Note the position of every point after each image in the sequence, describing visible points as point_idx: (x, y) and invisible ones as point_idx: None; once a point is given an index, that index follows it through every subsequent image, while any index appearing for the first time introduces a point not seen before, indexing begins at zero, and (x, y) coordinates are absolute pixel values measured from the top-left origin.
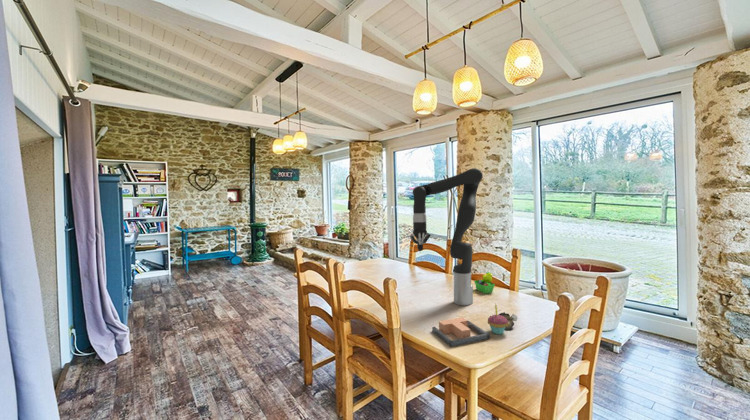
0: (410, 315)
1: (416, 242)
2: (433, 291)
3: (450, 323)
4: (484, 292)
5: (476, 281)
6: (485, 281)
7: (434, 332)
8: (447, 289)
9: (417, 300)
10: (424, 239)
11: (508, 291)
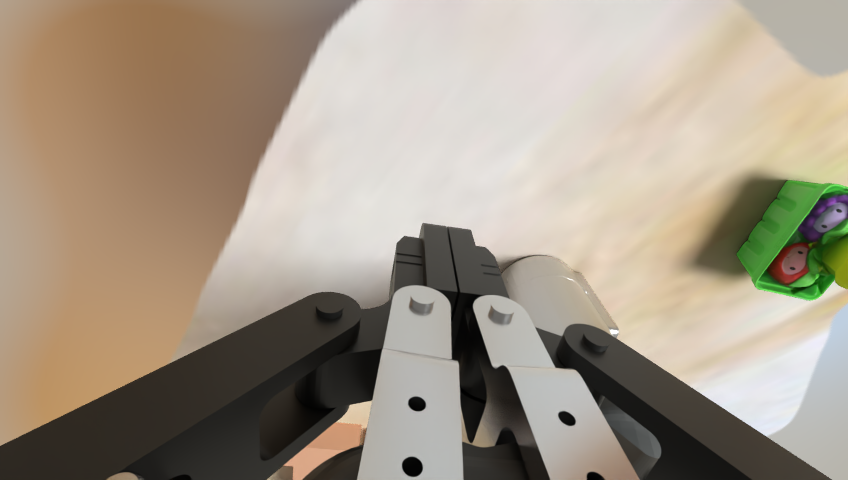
0: (227, 289)
1: (306, 408)
2: (557, 60)
3: (289, 465)
4: (738, 256)
5: (840, 187)
6: (825, 262)
7: None
8: (662, 80)
9: (359, 148)
10: (640, 412)
11: (844, 288)
